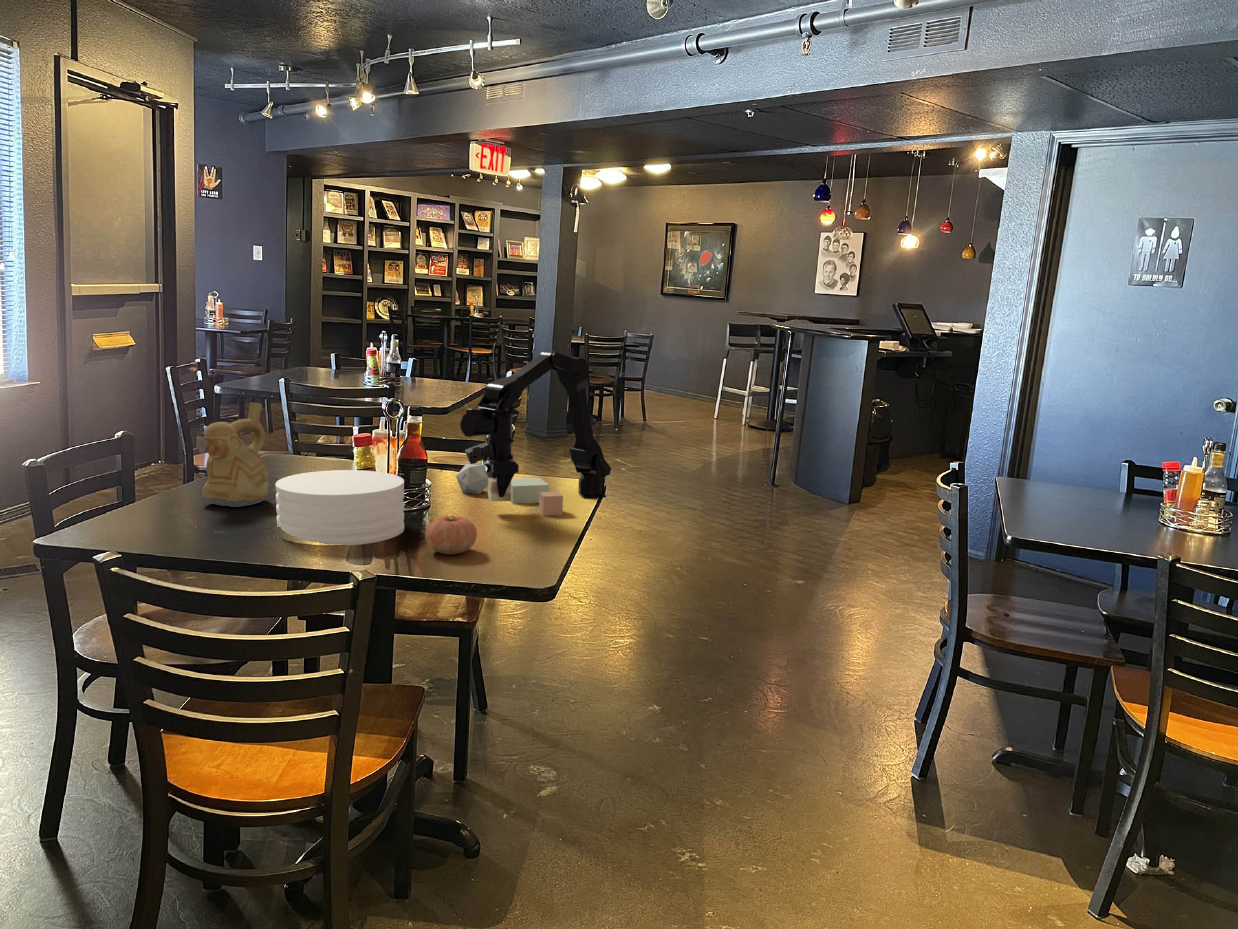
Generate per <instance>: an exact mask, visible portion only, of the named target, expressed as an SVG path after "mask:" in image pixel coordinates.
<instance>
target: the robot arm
mask: <svg viewBox="0 0 1238 929" xmlns="http://www.w3.org/2000/svg"><path fill="white" fill-rule="evenodd" d="M588 363H589V362H588V361H587V360H585V359H584V358H582V357H576V356H575V357H573V356H568V355H564V354H562V353H559V352H558V351H551V350H543V351H542V352H540V353H539V355H538V356H537V357H535V358H534V359H532V360H530V361H529V362H528V363H527V364H525V365H523V366H522V367H521V368H520V369H518V370H517V371H515V372H514V373H513V374H511V375H509V376H505V377H501V378H498V379H496V380H494V381H492V382H490V383H488V384H487V385H486V387H485V391H484V392H483V394H482V396H481V398H480V400H479V402H478V403H477V405H476V407H475V408H472V407H471V408H466V409H465V413H464V414H463V415H462V418H461V420H460V421H459V422H460V423H459V424H460V429H461V433H462V434H463V435H464V436H465V437H466V438H471V437H480V436H481V437H482V436H486V437H485V442H483V443H480V444H476V445H474V446H471V447H468V448H467V449H465V450H464V452H465V455H466V457H467V460H468V462H469V464H477V463H478V462H480V461H482V462H483V463H484V467H485V468H487V469H488V470H489V472H490V474H491V478H496V482H497V488H498V494H499V497H504V495H505V493H506V490H507V488H508V486H509V484H510V482H511V480H512V479H513V478H514V476H515V474H517V473H519V470H520V468H519V464H518V462H516V461H515V460H514V455H513V454H512V444H513V443H514V438H513V437H512V436H513V431H512V429H513V428H512V427H513V416H517V415H518V416H519V414H520V412H519V411H518V410H517V409H516V408H515V407H514V406H515V404H516V403H517V402H518V400H519V399H521V397H522V395H523V392H524V390H525V389H527V388H528V387H530V386H531V385H532V384H534V383H535V382H537V381H538V380H540V379H541V378H542V377H543V376H545V375H546V374H547V373H548V372H550V371H551V370H552V371H553V372H556V373H557V374H556V375H557V376H558V381H559V382H560V384H561V386H563V388H564V389H565V390H566V393H567V397H568V405H569V408H570V409H569V410H570V415H571V420H572V426H573V432H574V433H573V434H574V438H575V442H574V444H573V446H572V447H569V452H570V456H571V460H570V462H572V463H573V465H574V467H575V471H576V473H579V474H580V478H578V494H579V495H580V496H581V497H582V498H584V499H587V498H589V499H591V498H592V499H593V498H595V499H596V498H597V499H598V498H607V494H605V492H606V491H605V490H606V489H605V487H606V477H607V476H610V475H611V470H612V467H611V466H610V464H609V463H608V461H607V460H606V459H605V456H604V453H603V450H602V447H601V445H600V444H599V443H598V442H597V440H596V439H595V437H594V431H593V426H592V421H591V420H592V419H591V413H590V408H589V402H588V398H587V391H586V388H587V385H588V382H589V379H590V374H589V373H590V372H589V364H588ZM486 462H487V463H486Z"/></svg>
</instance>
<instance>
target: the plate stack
mask: <svg viewBox="0 0 1238 929" xmlns="http://www.w3.org/2000/svg"><path fill="white" fill-rule="evenodd" d="M404 487H405V480H404V478H403V477H401V476H398V475H395V474H392V473H387V472H383V471H374V470H361V469H337V470H321V471H320V470H319V471H310V472H302V473H296V474H292V475H289V476H284V477H283V478H280V479H278V480H277V481H276V482H275V491H276V494H275V502H276V506H275V511H276V514H277V515H276V524H277V527H278V526H279V527H281V529H282V530H283V531H285V532H286V533H287V534H290V535H292V536H296V537H297V538H301V540H307V541H310V542H319V543H324V544H341V545H349V546H358V545H366V544H367V545H368V544H374V543H377V542H382V541H387V540H389V539H392V538H394V537H395V538H396V537H397V536H400V535H401V534H402V533H404V531H405V522H404V520H405V512H404V509H405V501H404V498H405V491H404Z"/></svg>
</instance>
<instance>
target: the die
mask: <svg viewBox="0 0 1238 929" xmlns="http://www.w3.org/2000/svg"><path fill="white" fill-rule="evenodd" d="M455 477H456V479H457V483H458V485H459V487H460V489H461V492H462V494H463V493H464V494H475V495H481V493H482V492H483V491H484V490H485V488H486V487H488V478H489V476H488V473H487V471H486V466H485V464H477V463H475V464H470V463H465V465H464V466H463V467H462V468H461V469H460V471H459V472H458V473H457V474H456V476H455Z"/></svg>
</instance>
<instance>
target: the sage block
mask: <svg viewBox="0 0 1238 929" xmlns="http://www.w3.org/2000/svg"><path fill="white" fill-rule="evenodd" d="M539 492H550V484H549V483H548V482H546V481H545V480H543V479H542V478H541V477H519V478H514V477H513V478H512V480H511V501H509V502H510V503H511V504H513V505H515V504H532V503H533V504H534V503H539Z"/></svg>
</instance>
